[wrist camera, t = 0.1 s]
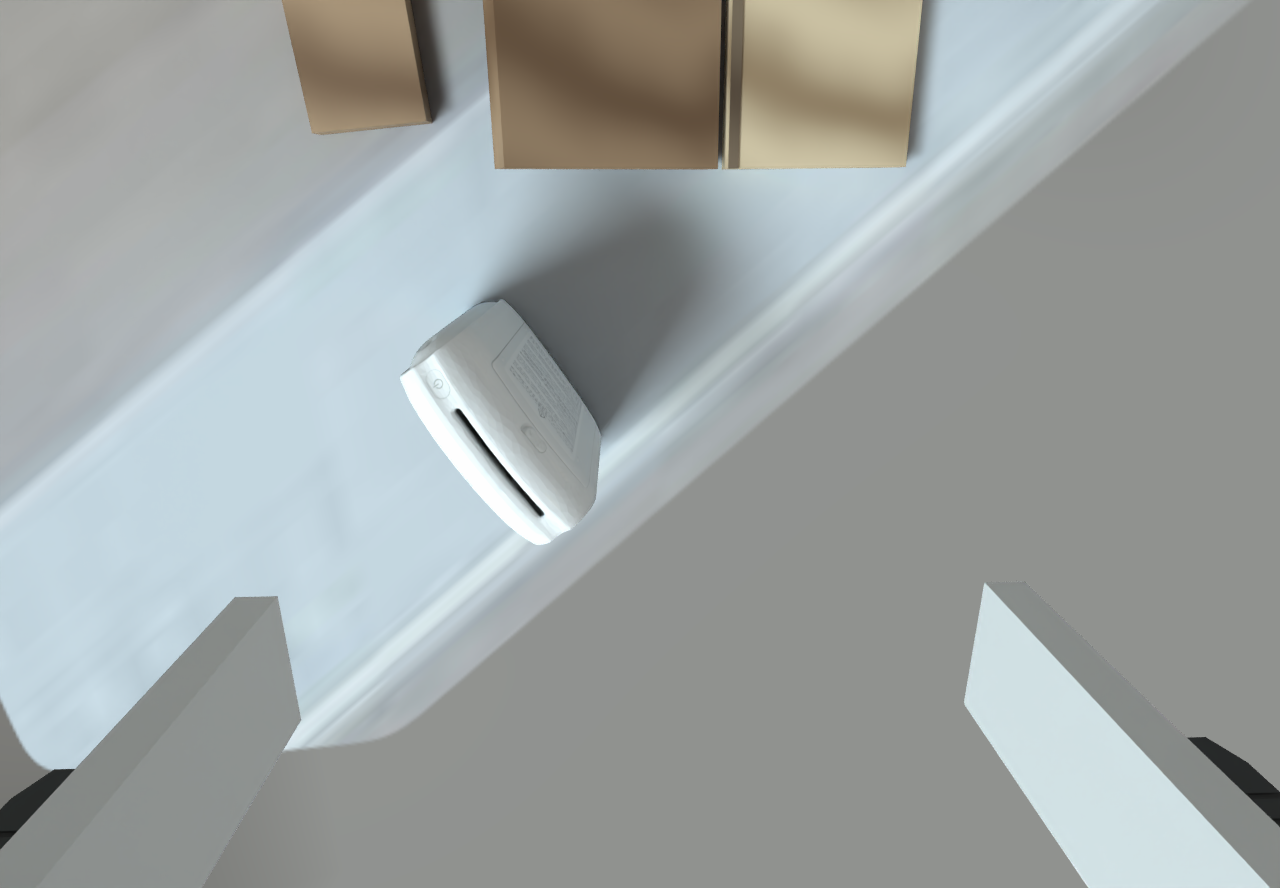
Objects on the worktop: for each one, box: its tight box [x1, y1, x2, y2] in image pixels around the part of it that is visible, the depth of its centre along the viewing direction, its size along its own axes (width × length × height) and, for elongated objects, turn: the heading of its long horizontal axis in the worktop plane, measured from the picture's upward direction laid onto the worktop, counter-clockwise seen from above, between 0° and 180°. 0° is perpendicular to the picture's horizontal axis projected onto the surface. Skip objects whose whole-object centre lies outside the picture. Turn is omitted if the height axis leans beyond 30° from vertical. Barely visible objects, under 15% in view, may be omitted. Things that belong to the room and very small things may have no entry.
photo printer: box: [400, 299, 601, 545], centre depth 35 cm, size 10×4×12 cm, turn 34°
